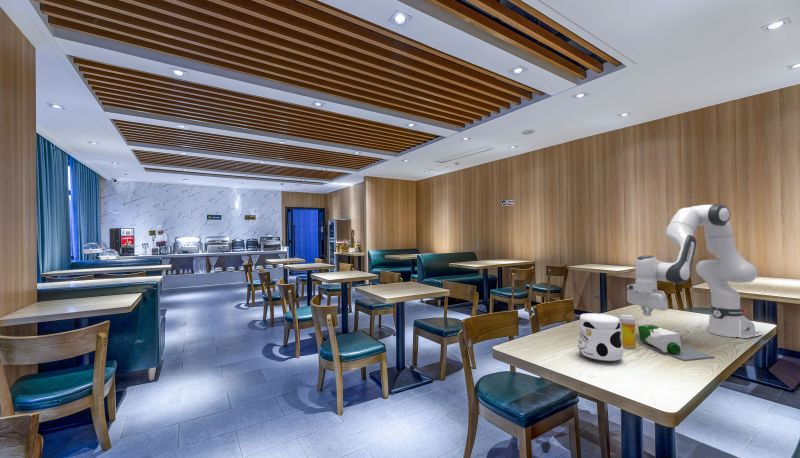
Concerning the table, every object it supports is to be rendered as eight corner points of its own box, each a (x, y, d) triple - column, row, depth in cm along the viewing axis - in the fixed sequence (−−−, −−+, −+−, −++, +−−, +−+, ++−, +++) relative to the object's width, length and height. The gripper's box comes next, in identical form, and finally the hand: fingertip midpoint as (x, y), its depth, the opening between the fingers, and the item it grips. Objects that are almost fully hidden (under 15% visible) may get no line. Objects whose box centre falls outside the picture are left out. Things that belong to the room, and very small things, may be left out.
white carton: (638, 342, 171) (666, 355, 151) (635, 324, 171) (663, 334, 151) (656, 340, 170) (687, 353, 150) (653, 322, 170) (683, 332, 150)
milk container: (569, 354, 156) (568, 315, 156) (597, 349, 162) (596, 311, 162) (604, 368, 140) (602, 324, 140) (633, 361, 146) (632, 319, 146)
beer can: (637, 349, 161) (637, 317, 161) (623, 348, 162) (622, 317, 162) (631, 345, 166) (631, 314, 167) (618, 344, 168) (617, 314, 168)
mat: (666, 342, 170) (666, 340, 170) (714, 357, 148) (714, 356, 148) (639, 344, 167) (639, 343, 167) (684, 361, 145) (684, 359, 145)
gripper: (671, 291, 162) (672, 320, 162) (634, 284, 182) (635, 310, 182) (660, 291, 161) (660, 321, 161) (624, 285, 181) (625, 311, 181)
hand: (646, 315), depth 172 cm, fingers closed
